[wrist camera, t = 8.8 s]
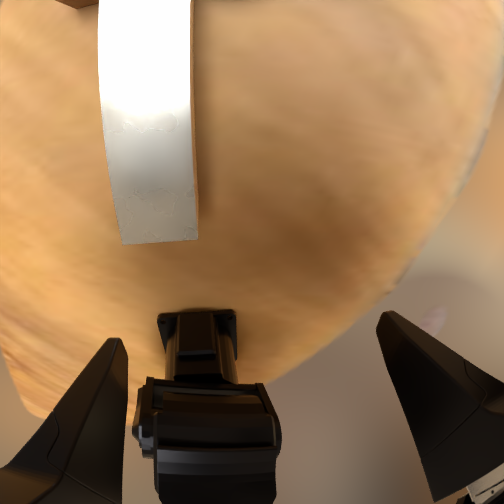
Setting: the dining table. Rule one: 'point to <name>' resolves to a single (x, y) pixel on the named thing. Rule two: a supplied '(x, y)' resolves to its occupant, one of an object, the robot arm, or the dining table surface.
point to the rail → (149, 117)
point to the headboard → (78, 3)
